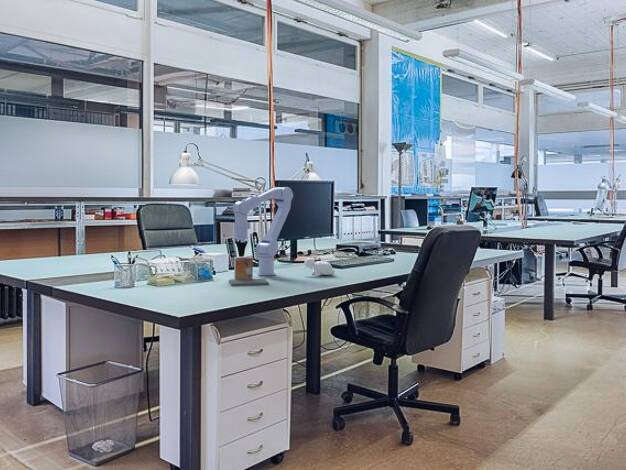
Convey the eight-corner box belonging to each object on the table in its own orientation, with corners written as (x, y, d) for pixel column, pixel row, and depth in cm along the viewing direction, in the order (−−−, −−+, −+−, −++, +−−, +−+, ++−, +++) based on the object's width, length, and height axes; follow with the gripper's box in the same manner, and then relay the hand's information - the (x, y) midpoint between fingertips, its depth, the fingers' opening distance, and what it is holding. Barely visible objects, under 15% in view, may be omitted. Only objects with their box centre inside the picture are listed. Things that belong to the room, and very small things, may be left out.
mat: (228, 281, 261) (228, 279, 261) (264, 280, 265) (264, 278, 265) (231, 286, 250) (231, 283, 250) (268, 284, 253) (268, 282, 253)
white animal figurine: (327, 280, 288) (299, 269, 285) (334, 264, 288) (306, 253, 285) (331, 282, 280) (302, 272, 277) (337, 266, 279) (309, 255, 277)
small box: (235, 281, 263) (234, 258, 262) (234, 279, 269) (234, 256, 268) (252, 280, 265) (252, 257, 264) (251, 279, 270) (251, 256, 270)
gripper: (231, 226, 279) (231, 255, 280) (234, 228, 265) (234, 258, 266) (245, 226, 281) (245, 254, 282) (249, 228, 266) (249, 258, 267)
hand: (241, 256), depth 274 cm, fingers closed
